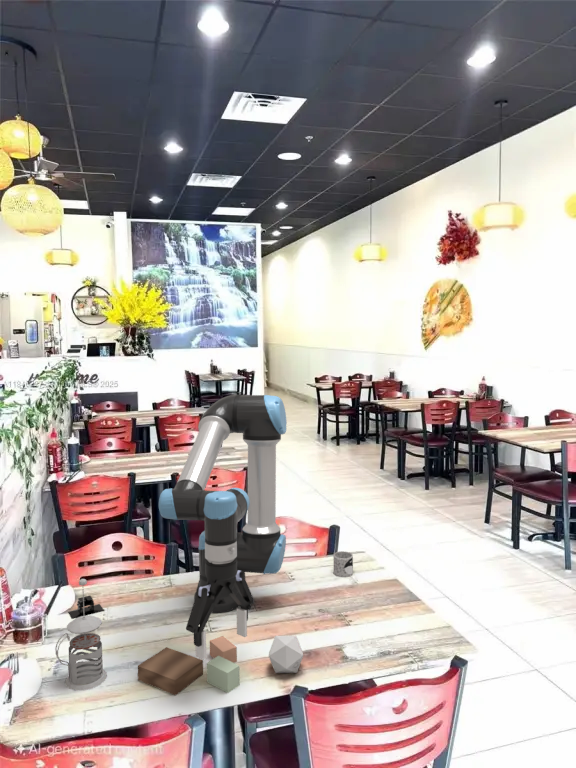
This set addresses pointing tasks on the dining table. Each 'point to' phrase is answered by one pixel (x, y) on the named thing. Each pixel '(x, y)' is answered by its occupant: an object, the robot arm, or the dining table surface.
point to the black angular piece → (85, 608)
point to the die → (285, 654)
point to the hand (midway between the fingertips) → (222, 646)
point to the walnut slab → (170, 670)
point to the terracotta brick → (223, 649)
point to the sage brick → (223, 674)
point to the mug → (343, 564)
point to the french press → (87, 671)
